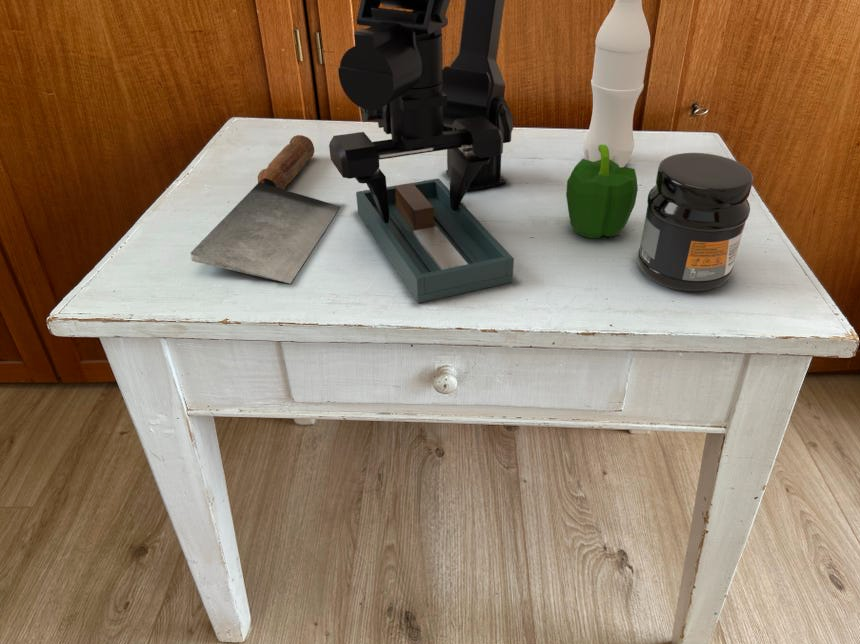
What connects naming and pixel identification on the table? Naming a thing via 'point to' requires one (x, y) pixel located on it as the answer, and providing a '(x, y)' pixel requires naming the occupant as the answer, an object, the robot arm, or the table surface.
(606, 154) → the bell pepper
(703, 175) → the supplement container
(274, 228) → the meat cleaver
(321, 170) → the table surface
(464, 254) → the tray
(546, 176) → the table surface
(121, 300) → the table surface
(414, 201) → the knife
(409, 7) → the robot arm
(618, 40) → the water bottle
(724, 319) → the table surface
